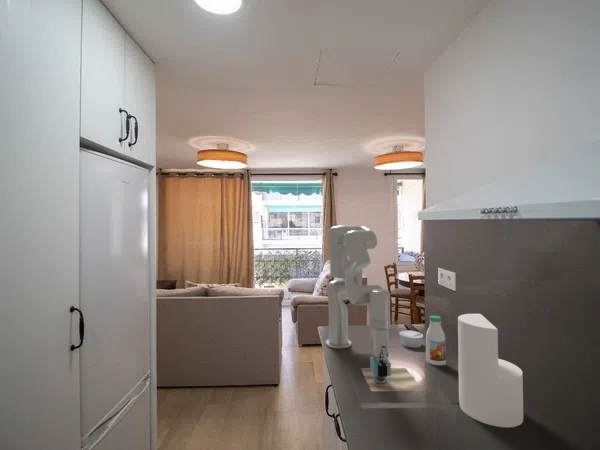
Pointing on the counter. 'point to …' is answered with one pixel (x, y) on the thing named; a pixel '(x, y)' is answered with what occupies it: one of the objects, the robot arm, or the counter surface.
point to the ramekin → (411, 338)
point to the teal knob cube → (374, 366)
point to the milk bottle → (435, 342)
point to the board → (392, 381)
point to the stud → (380, 380)
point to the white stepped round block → (487, 375)
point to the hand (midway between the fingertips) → (380, 371)
